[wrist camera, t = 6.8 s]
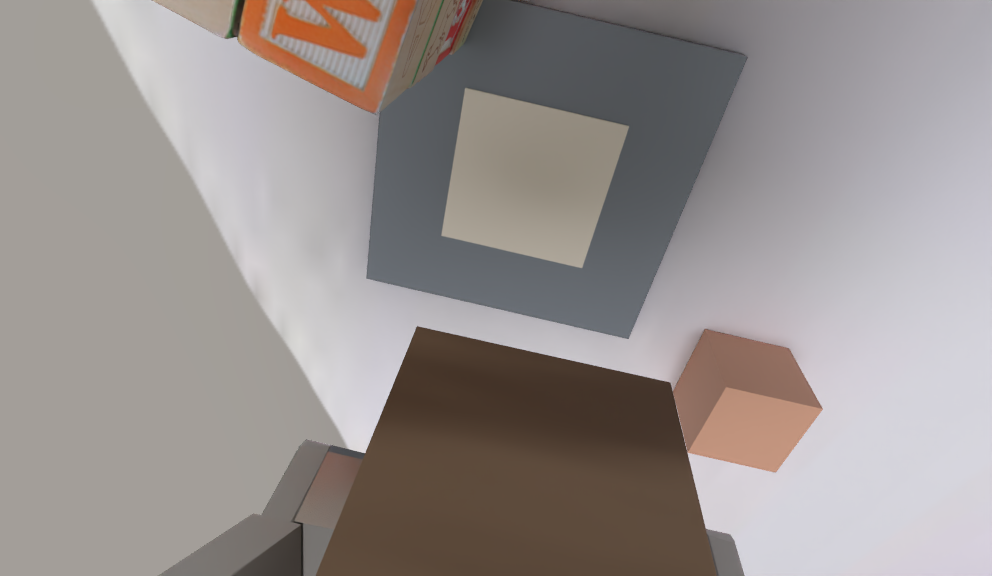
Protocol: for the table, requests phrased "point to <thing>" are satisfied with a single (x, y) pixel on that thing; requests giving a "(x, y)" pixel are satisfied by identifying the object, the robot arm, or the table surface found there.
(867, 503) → the table surface
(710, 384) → the terracotta block
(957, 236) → the table surface
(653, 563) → the walnut block
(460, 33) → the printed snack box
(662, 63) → the grey flat square plate
